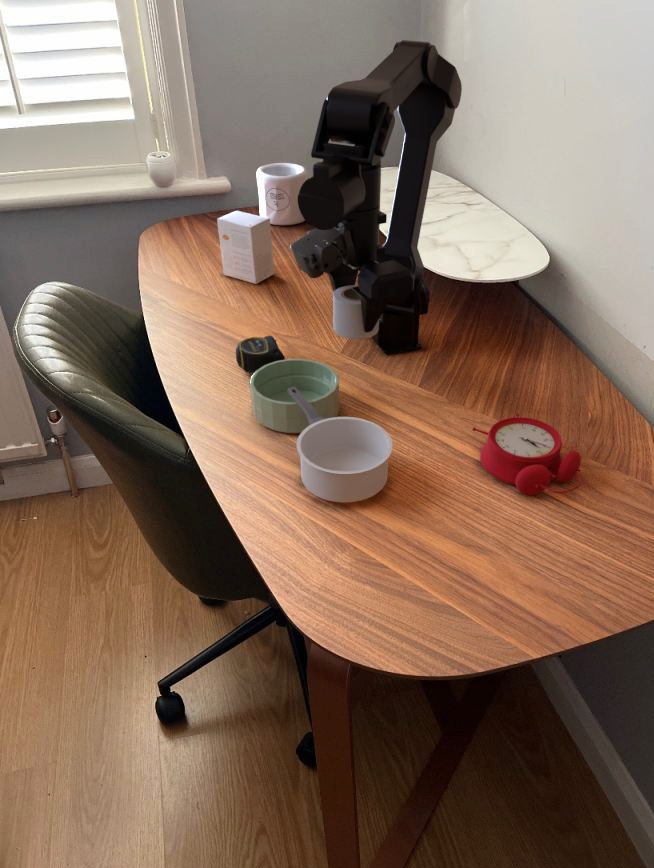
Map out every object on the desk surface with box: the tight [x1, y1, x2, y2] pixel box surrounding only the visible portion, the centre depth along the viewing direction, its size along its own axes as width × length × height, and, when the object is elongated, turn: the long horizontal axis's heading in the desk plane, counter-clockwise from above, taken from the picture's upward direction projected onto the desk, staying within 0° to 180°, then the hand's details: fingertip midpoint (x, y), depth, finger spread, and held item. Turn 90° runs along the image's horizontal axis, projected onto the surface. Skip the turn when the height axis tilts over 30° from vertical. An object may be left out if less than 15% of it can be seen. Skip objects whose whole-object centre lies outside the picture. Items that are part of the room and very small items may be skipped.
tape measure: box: [235, 335, 286, 374], centre depth 113 cm, size 7×7×4 cm
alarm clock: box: [472, 413, 583, 496], centre depth 94 cm, size 10×6×15 cm
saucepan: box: [287, 387, 393, 503], centre depth 94 cm, size 12×20×6 cm, turn 31°
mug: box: [256, 162, 310, 226], centre depth 160 cm, size 14×11×10 cm
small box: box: [216, 210, 275, 285], centre depth 137 cm, size 8×6×10 cm
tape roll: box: [332, 284, 379, 340], centre depth 101 cm, size 6×6×5 cm
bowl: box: [249, 358, 340, 434], centre depth 103 cm, size 12×12×5 cm
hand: (355, 322), depth 102 cm, fingers closed on tape roll, 6 cm apart
